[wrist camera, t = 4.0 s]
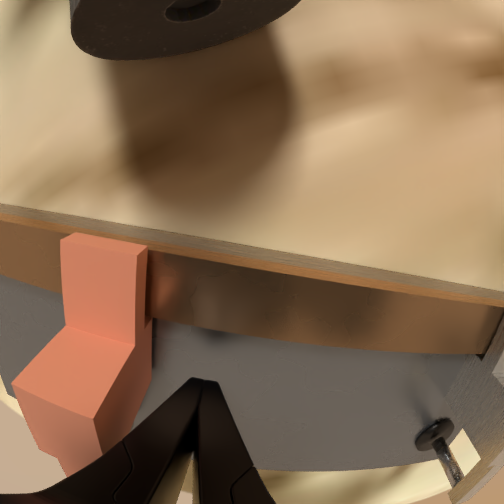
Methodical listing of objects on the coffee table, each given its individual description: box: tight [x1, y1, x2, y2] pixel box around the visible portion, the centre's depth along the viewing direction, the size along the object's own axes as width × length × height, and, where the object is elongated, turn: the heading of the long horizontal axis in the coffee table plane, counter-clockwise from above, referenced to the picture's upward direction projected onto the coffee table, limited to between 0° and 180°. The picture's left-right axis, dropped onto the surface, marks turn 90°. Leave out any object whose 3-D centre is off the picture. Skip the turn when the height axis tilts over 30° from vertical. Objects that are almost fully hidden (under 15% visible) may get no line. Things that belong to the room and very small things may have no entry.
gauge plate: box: [0, 204, 504, 504], centre depth 9 cm, size 24×10×6 cm, turn 80°
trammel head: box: [11, 232, 152, 477], centre depth 7 cm, size 2×8×4 cm, turn 170°
